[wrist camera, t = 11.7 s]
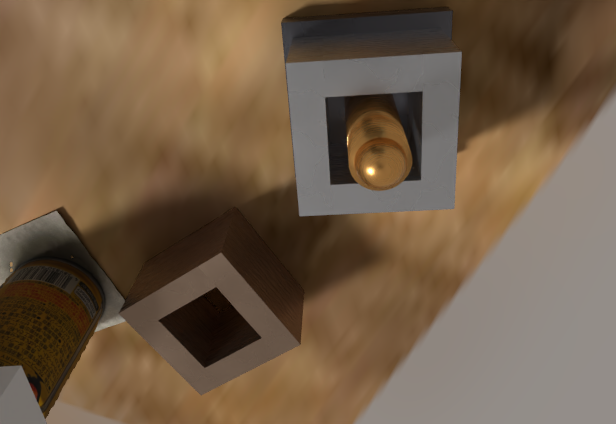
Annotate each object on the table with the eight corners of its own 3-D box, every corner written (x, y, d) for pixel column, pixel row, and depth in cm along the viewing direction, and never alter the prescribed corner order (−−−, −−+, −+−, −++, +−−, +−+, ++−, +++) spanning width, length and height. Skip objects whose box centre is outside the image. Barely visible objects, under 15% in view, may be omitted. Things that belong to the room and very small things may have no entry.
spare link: (144, 262, 36) (118, 313, 31) (235, 206, 34) (221, 252, 29) (215, 338, 38) (201, 395, 34) (304, 290, 36) (300, 344, 32)
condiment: (46, 349, 39) (-59, 513, 29) (-38, 250, 36) (-192, 396, 25) (137, 314, 38) (62, 475, 27) (59, 207, 34) (-63, 344, 24)
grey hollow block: (292, 37, 28) (285, 63, 24) (440, 27, 28) (461, 51, 23) (303, 172, 31) (299, 216, 27) (436, 165, 31) (454, 208, 26)
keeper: (283, 18, 29) (261, 71, 20) (447, 6, 28) (502, 55, 19) (296, 167, 32) (283, 269, 23) (442, 160, 32) (486, 261, 23)
